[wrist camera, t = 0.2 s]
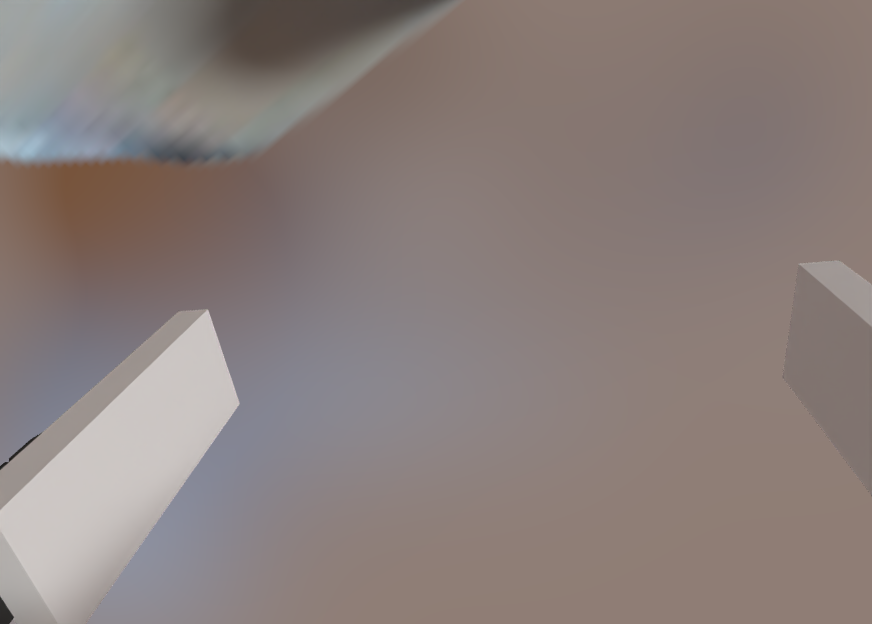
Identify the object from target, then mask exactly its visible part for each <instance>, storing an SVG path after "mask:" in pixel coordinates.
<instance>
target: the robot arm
mask: <svg viewBox="0 0 872 624" xmlns="http://www.w3.org/2000/svg"><path fill="white" fill-rule="evenodd" d="M783 379H784V380H785V381H786V383H787V384H788V385H789V387H790V388H791V389H792V391H793V392H794V393H795V395H796V396H797V397H798V399H799V400H800V401H801V403H802V404H803V405H804V407H805V408H806V409H807V411H808V412H809V413H810V415H811V416H812V417H813V418H814V420H815V421H816V423H817V424H818V425H819V427H820V428H821V429H822V430H823V432H824V433H825V434H826V436H827V437H828V439H829V440H830V441H831V443H832V444H833V445H834V447H835V448H836V449H837V450H838V452H839V453H840V455H841V456H842V457H843V459H844V460H845V461H846V462H847V464H848V465H849V466H850V468H851V469H852V470H853V472H854V473H855V474H856V476H857V477H858V478H859V480H860V481H861V482H862V484H863V485H864V486H865V488H866V489H867V490H868V492H869V493H870V494H871V496H872V284H870V283H869V282H868V281H866V280H865V279H864V278H862V277H861V276H859V275H858V274H856V273H855V272H854V271H853V270H851V269H850V268H849V267H847V266H846V265H844V264H843V263H842V262H841V261H828V262H815V263H802V264H799V265H798V272H797V279H796V286H795V293H794V301H793V307H792V314H791V321H790V329H789V336H788V342H787V349H786V356H785V364H784V370H783ZM238 405H239V400H238V398H237V394H236V392H235V389H234V385H233V382H232V379H231V376H230V374H229V371H228V368H227V365H226V362H225V359H224V356H223V353H222V350H221V347H220V344H219V341H218V338H217V335H216V332H215V329H214V326H213V323H212V320H211V317H210V314H209V311H208V310H207V309H204V310H191V311H179V312H178V313H177V314H175V315H174V316H173V317H172V318H171V319H170V320H169V321H167V322H166V323H165V324H164V325H163V326H162V327H161V328H160V329H158V330H157V331H156V332H155V333H154V334H153V335H152V336H151V337H149V338H148V339H147V340H146V341H145V342H144V343H143V344H142V345H140V346H139V347H138V348H137V349H136V350H135V351H134V352H133V353H131V354H130V355H129V356H128V357H127V358H126V359H125V360H124V361H123V362H121V363H120V364H119V365H118V366H117V367H116V368H115V369H113V370H112V371H111V372H110V373H109V374H108V375H107V376H106V377H104V379H102V380H101V381H100V382H99V383H98V384H97V385H96V386H94V387H93V388H92V389H91V390H90V391H89V392H88V393H87V394H85V395H84V396H83V397H82V398H81V399H80V400H79V401H78V402H76V403H75V404H74V405H73V406H72V407H71V408H70V409H69V410H67V411H66V412H65V413H64V414H63V415H62V416H61V417H60V418H58V419H57V420H56V421H55V422H54V423H53V424H52V425H51V426H49V427H48V428H47V429H46V430H45V431H44V432H42V433H41V434H39V435H37V436H36V437H34V438H32V439H31V440H30V441H28V442H27V443H26V444H25V445H24V446H23V447H22V448H20V449H19V450H18V451H17V452H16V453H15V454H14V455H13V456H11V457H10V458H9V462H5V463H3V464H2V465H1V466H0V624H9V623H10V622H11V621H12V620H14V621H15V623H16V624H86V622H87V621H88V620H89V618H90V617H91V615H92V614H93V613H94V611H95V610H96V608H97V607H98V605H99V604H100V603H101V601H102V600H103V598H104V597H105V595H106V594H107V593H108V591H109V590H110V588H111V587H112V585H113V584H114V583H115V581H116V580H117V578H118V577H119V575H120V574H121V573H122V571H123V570H124V568H125V567H126V565H127V564H128V563H129V561H130V560H131V558H132V557H133V555H134V554H135V553H136V551H137V550H138V548H139V547H140V545H141V544H142V542H143V541H144V540H145V538H146V537H147V535H148V534H149V533H150V531H151V530H152V528H153V527H154V525H155V524H156V523H157V521H158V520H159V518H160V517H161V515H162V514H163V513H164V511H165V510H166V508H167V507H168V505H169V504H170V503H171V501H172V500H173V498H174V497H175V495H176V494H177V493H178V491H179V490H180V488H181V487H182V485H183V484H184V483H185V481H186V480H187V478H188V477H189V475H190V474H191V473H192V471H193V470H194V468H195V467H196V465H197V464H198V463H199V461H200V460H201V458H202V457H203V455H204V454H205V453H206V451H207V450H208V448H209V447H210V445H211V444H212V443H213V441H214V440H215V438H216V437H217V435H218V434H219V432H220V431H221V430H222V428H223V427H224V425H225V424H226V423H227V421H228V420H229V418H230V417H231V415H232V414H233V413H234V411H235V410H236V408H237V407H238Z"/></svg>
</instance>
